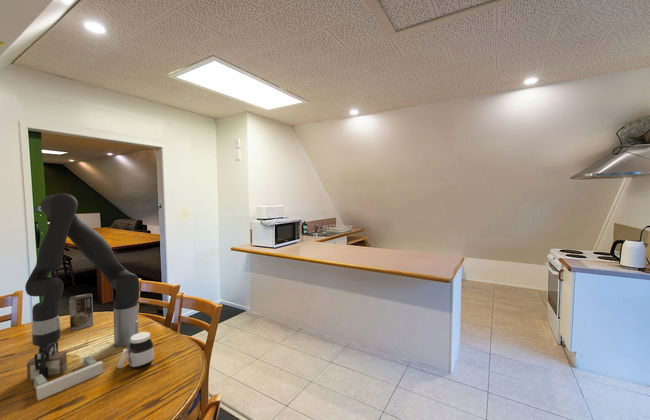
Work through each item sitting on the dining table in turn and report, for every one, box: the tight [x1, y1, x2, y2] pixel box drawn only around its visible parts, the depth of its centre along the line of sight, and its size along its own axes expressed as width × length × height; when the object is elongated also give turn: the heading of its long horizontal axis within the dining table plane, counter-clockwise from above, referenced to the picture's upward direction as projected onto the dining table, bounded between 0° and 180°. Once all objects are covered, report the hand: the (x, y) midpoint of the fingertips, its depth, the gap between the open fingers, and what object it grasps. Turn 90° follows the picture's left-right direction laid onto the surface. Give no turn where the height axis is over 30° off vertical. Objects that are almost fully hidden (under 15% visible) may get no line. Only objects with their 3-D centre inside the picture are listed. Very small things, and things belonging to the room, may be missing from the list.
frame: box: [26, 351, 68, 383], centre depth 107 cm, size 10×4×7 cm, turn 117°
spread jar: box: [116, 331, 155, 370], centre depth 114 cm, size 12×11×12 cm
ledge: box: [33, 355, 104, 402], centre depth 104 cm, size 18×10×4 cm, turn 147°
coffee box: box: [68, 292, 94, 331], centre depth 147 cm, size 9×6×16 cm
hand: (47, 371), depth 107 cm, fingers open, 6 cm apart
